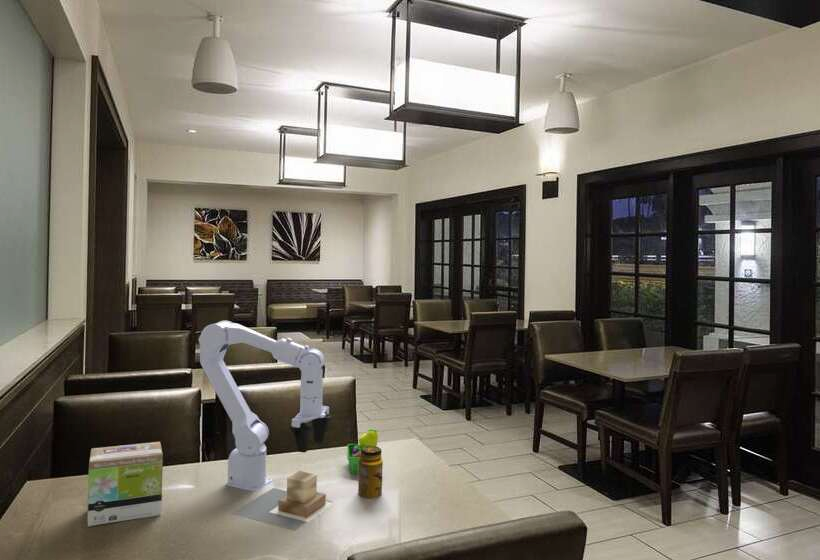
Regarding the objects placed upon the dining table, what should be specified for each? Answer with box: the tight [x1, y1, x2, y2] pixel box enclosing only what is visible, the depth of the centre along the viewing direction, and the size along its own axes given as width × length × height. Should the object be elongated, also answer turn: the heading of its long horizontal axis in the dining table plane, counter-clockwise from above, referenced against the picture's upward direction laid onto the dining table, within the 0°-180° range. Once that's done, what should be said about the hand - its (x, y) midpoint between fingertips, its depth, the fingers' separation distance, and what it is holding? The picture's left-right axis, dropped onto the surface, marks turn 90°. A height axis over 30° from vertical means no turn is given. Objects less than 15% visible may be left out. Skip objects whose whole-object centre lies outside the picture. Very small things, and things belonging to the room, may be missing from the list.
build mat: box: [230, 487, 335, 531], centre depth 133 cm, size 18×16×1 cm
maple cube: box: [286, 470, 318, 503], centre depth 134 cm, size 5×5×5 cm
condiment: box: [357, 446, 384, 499], centre depth 142 cm, size 7×8×12 cm
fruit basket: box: [346, 428, 379, 474], centre depth 161 cm, size 11×9×11 cm
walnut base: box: [278, 491, 327, 518], centre depth 134 cm, size 8×8×2 cm
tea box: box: [87, 441, 164, 528], centre depth 129 cm, size 15×10×15 cm
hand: (310, 447), depth 147 cm, fingers open, 7 cm apart
